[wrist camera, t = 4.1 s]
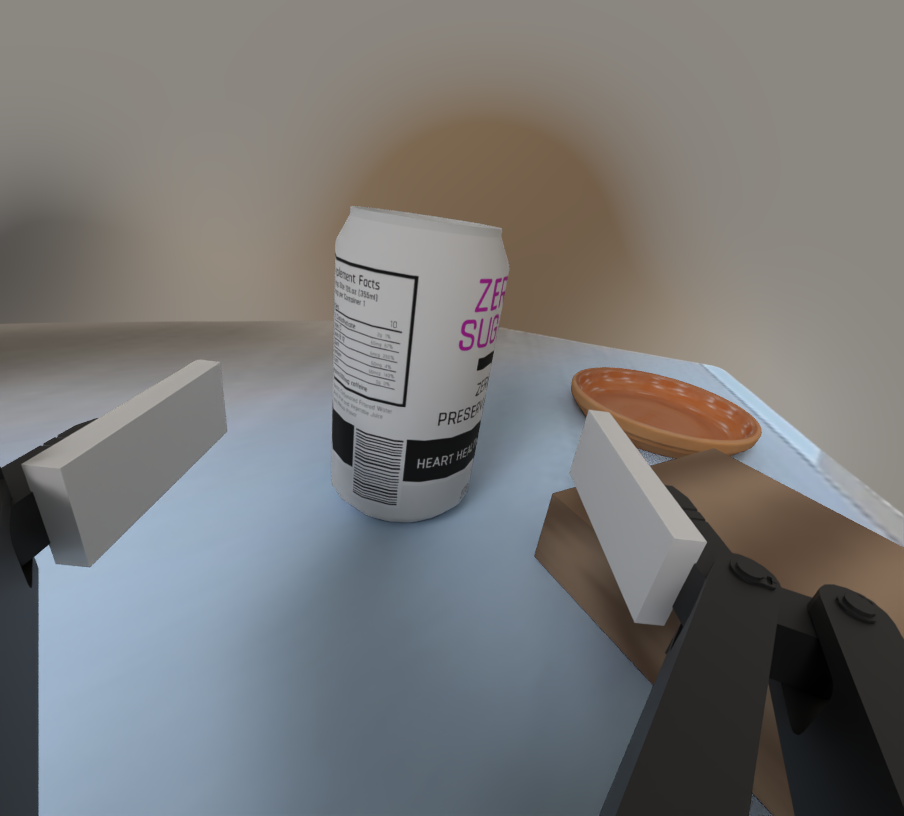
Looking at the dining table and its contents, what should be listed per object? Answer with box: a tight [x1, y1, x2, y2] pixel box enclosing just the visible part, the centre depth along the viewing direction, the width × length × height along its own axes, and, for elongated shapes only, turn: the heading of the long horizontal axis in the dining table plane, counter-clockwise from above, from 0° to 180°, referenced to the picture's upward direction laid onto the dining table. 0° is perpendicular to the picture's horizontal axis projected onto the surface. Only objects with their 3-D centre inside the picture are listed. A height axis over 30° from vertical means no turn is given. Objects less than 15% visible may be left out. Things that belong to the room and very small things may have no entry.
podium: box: [535, 448, 904, 816], centre depth 19 cm, size 14×14×4 cm
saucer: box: [571, 367, 762, 458], centre depth 39 cm, size 16×16×3 cm
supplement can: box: [331, 206, 509, 522], centre depth 23 cm, size 8×8×15 cm
